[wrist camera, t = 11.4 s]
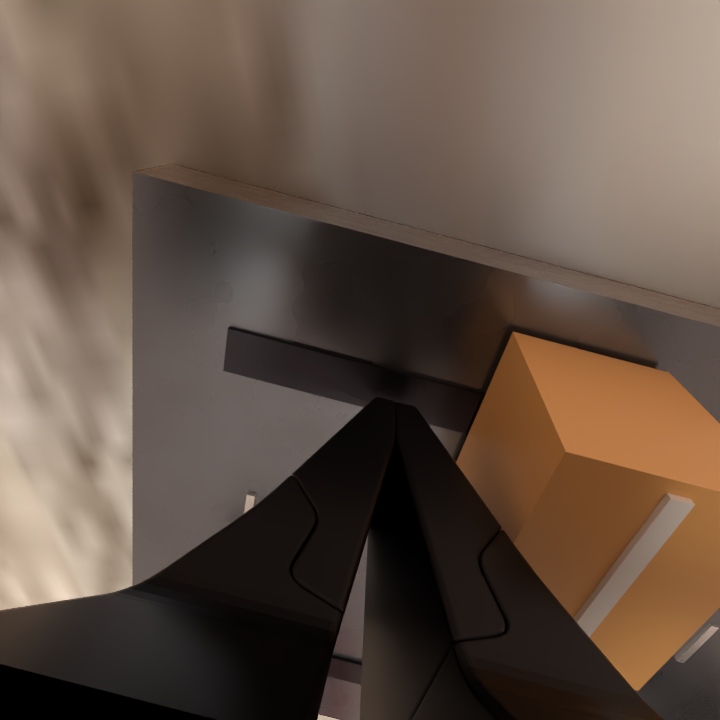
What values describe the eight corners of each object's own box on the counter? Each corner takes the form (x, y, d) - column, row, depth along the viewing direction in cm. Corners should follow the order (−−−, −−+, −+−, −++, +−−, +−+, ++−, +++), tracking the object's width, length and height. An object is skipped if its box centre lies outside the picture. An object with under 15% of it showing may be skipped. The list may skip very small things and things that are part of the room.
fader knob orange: (669, 373, 9) (815, 521, 5) (573, 522, 11) (640, 697, 7) (513, 331, 9) (568, 457, 5) (444, 489, 10) (456, 651, 7)
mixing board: (1194, 434, 10) (1326, 488, 8) (733, 771, 17) (761, 828, 16) (171, 164, 10) (129, 172, 8) (154, 624, 17) (131, 670, 16)
